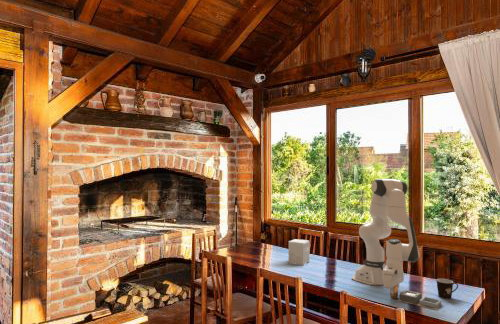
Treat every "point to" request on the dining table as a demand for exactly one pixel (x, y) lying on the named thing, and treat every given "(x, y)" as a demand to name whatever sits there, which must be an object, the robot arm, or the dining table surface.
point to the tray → (430, 302)
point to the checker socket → (410, 297)
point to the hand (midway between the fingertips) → (394, 292)
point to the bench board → (419, 304)
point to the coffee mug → (445, 288)
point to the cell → (395, 295)
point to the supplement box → (298, 251)
